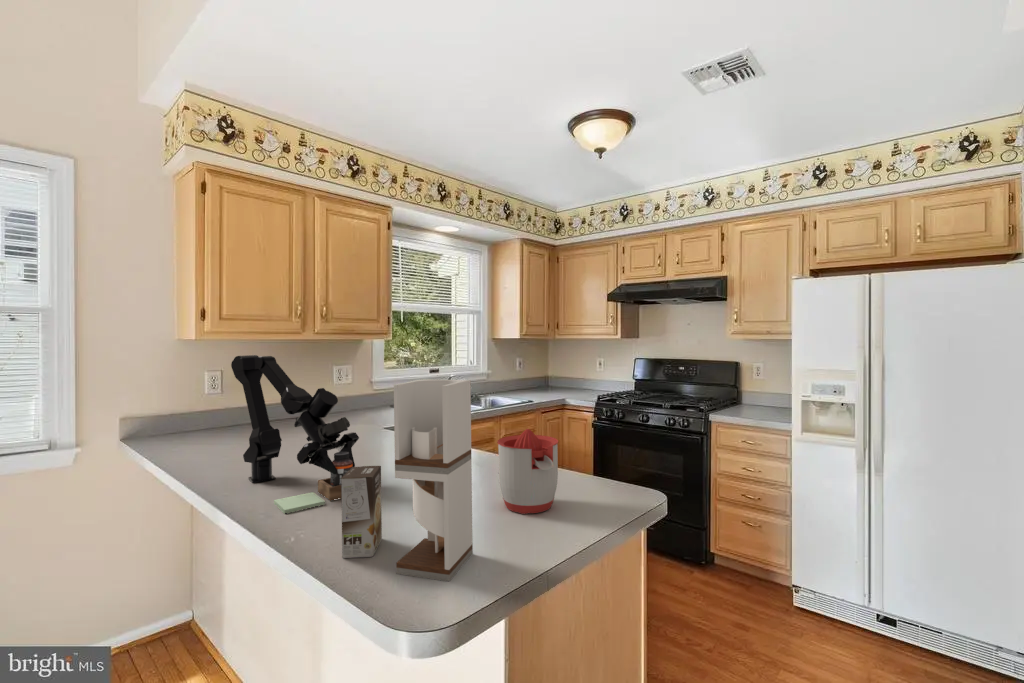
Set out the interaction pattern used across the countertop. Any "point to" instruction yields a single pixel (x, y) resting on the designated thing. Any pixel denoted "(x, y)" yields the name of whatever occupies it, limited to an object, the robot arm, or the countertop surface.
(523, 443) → the citrus juicer
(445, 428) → the white tiered shelf stand
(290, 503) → the sage rubber mat
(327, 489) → the walnut collar
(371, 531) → the coffee box
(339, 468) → the supplement bottle
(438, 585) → the countertop surface
